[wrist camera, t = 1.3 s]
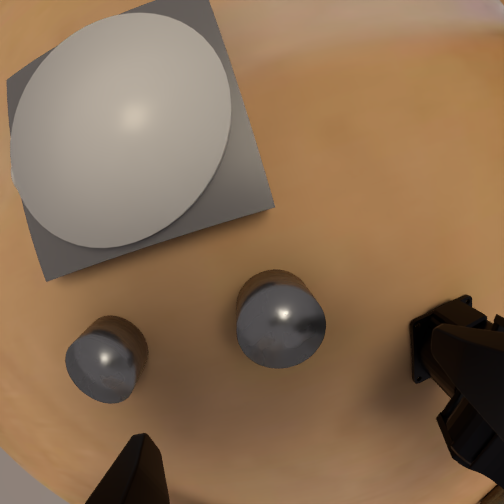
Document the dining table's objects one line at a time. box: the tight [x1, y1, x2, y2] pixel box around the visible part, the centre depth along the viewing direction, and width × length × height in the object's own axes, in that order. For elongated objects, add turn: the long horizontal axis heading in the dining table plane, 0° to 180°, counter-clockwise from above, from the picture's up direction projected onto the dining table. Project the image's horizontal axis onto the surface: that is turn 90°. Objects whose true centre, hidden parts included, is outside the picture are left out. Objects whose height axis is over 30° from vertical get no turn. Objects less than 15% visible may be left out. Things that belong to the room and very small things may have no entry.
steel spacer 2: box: [237, 270, 326, 368], centre depth 19 cm, size 5×5×4 cm
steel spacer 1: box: [65, 316, 148, 403], centre depth 19 cm, size 5×5×4 cm
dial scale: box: [7, 0, 275, 282], centre depth 16 cm, size 15×16×4 cm
